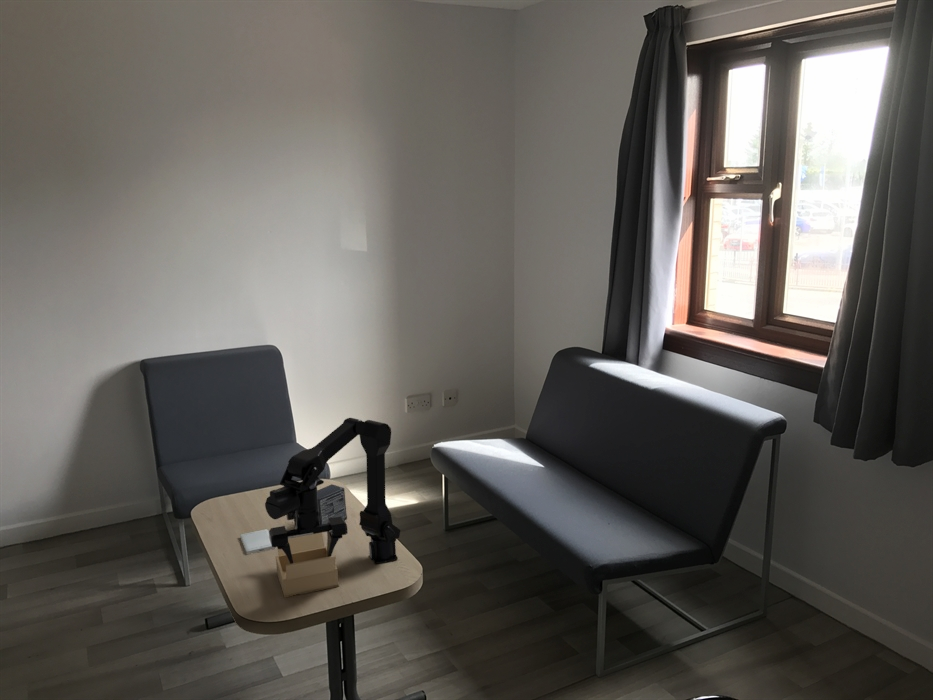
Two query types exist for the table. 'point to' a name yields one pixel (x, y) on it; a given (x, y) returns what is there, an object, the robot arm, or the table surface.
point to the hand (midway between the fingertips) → (310, 562)
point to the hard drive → (256, 541)
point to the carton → (306, 582)
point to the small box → (331, 503)
